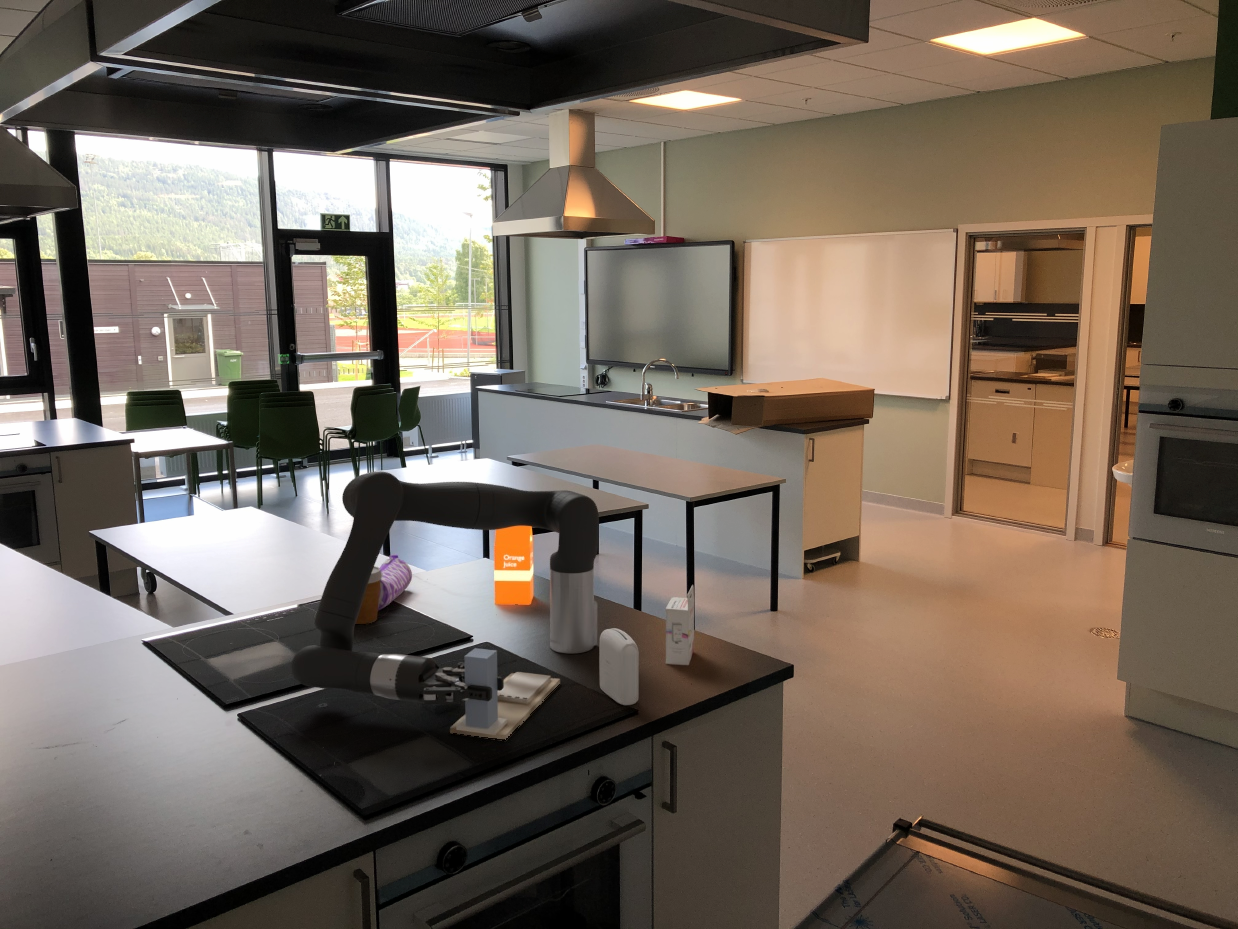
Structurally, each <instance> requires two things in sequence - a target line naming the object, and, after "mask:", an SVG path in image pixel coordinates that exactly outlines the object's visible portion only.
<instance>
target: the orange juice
mask: <svg viewBox="0 0 1238 929" xmlns="http://www.w3.org/2000/svg"><path fill="white" fill-rule="evenodd" d="M532 528H533V527H531V526H513V527H508V528H504V529H497V530H495V535H494V546H493V553H494V554H493V557H494V558H493V560H494V563H493V566H494V571H493V572H494V574H493V576H494V605H515V604H518V605H519V606H520V605H528V606H529V605H531V604H532V600H533V599H534V538H533V529H532ZM518 605H517V606H518Z"/></svg>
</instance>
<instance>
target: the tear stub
mask: <svg viewBox="0 0 1238 929" xmlns="http://www.w3.org/2000/svg"><path fill="white" fill-rule="evenodd" d="M463 658H464V663H465V683H466V684H469V687H470V685H479V686H488V687H491V688H492V699H491V700H490V701H483V700H475V699H470V698H469V700H466V701H465V703H464V705H465V706H464V709H465V714H466V717H465V718H464V719H463V720H462V721H461V722H460V723H459V724H458V725H456V730H462V731H469V732H476V733H483V734H490V735H496V734H497V733H498V732H499V731H500V730H501V729H502V728H503V727H504V726H505V725H506V724H507V719H504V718H498V691H497V676H498V650H496V649H485V648H478V647H477V648H476V647H474V648H473V649H472V650H470V651H469V652H468V653H467V654H466V655H464V656H463Z"/></svg>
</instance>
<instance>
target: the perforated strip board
mask: <svg viewBox="0 0 1238 929" xmlns="http://www.w3.org/2000/svg"><path fill="white" fill-rule="evenodd" d="M503 679H504V688H503V689H502V690H501V691H498V718H504V719H507V724H506V725H505V726H504V727H503V728H502V729H501V730H500V731H499V732H498V733H497V734H496V735H490V734H483V733H476V732H469V731H462V730H456V725H458V724H459V723H460V722H461V721H462V720H463V719H464V718H465V717H466V713H464V715H463V716H461V717H460V718H459V719H458V720H457V721H456V722H455V723H453V725H451V726H450V727H449V732H450V734H453V733H457V734H456V735H460V734H464V735H463V736H467V735H471V736H470V737H474V736H479V737H478V738H481V737H488V738H497V739H505V740H506V738H508V736H510V734H512V732H513V731H514V730H515V729H516V728H517V727H518V726H519V725H520V726H522V725H523V723H524V722H525V721H526V720H527V719H528V718H529V717H530V716H531V715H532V714H533V713H534V712H535V711H536V710H537V709H538V708H539V707H540V706H541V705H542V703H543V702H544V701H545V700H546V699H547V698H548V697H549V696H550V695H551V694H552V693H553V692H554V691H555V690H556V689H557V688H558V687H559V686H560V685H561V678H557V677H556V678H555V677H554V678H553V677H552V675H546V674H539V673H530V672H522V671H516V672H515V673H514V672H511V673H510V674H509V675H508V676H506V677H505V678H503ZM559 684H560V685H559ZM558 685H559V686H558ZM557 686H558V687H557ZM556 687H557V688H556ZM555 688H556V689H555ZM554 689H555V690H554ZM553 690H554V691H553ZM552 691H553V692H552ZM551 692H552V693H551ZM550 693H551V694H550ZM549 694H550V695H549ZM548 695H549V696H548ZM547 696H548V697H547ZM546 697H547V698H546ZM545 698H546V699H545ZM544 699H545V700H544ZM542 701H543V702H542ZM539 705H540V706H539ZM538 706H539V707H538ZM537 707H538V708H537ZM536 708H537V709H536ZM535 709H536V710H535ZM534 710H535V711H534ZM533 711H534V712H533ZM532 712H533V713H532ZM531 713H532V714H531ZM530 714H531V715H530ZM523 721H524V722H523ZM520 726H519V727H520ZM519 727H518V728H519ZM512 735H513V734H512ZM510 737H511V736H510ZM488 738H487V739H488ZM508 739H509V738H508ZM506 741H507V740H506Z"/></svg>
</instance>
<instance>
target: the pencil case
mask: <svg viewBox="0 0 1238 929" xmlns="http://www.w3.org/2000/svg"><path fill="white" fill-rule="evenodd" d="M379 568H380V570H381V573H382V574H383V576H382V578H381V582H380V592H379V603H378V612H379V611H381V610H382V609H384V608H386V606H388V605H390V603H392V602H393V601H395V599H397V598H398V597H399V596H400V595H402V593H403V592H404V591H405V590H406V589H407V588H408V587H409V585H411V581H412V578H413V572H412V569H411V567H410V566H409V564H408V563H407V562H406V561H404V560H402V559H400V558H399V555H398V554H391V555H389V558H388V559H385V561H384V562H383V563H382V564H381V565H380V567H379Z"/></svg>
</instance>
